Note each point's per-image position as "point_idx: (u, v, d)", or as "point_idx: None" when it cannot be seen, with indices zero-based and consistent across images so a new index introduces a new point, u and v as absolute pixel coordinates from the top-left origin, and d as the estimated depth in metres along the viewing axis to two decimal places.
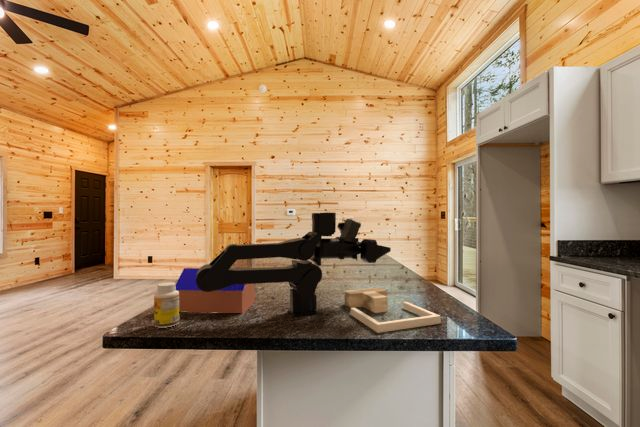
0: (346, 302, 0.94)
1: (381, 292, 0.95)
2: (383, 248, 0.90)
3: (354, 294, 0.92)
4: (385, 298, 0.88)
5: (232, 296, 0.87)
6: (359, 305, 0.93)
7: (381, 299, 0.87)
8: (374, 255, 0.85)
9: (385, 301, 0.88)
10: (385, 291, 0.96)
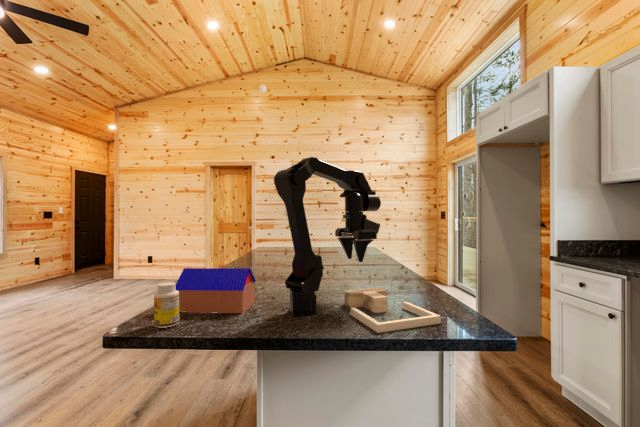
0: (346, 302, 0.94)
1: (381, 292, 0.95)
2: (363, 252, 0.98)
3: (354, 294, 0.92)
4: (385, 298, 0.88)
5: (232, 296, 0.87)
6: (359, 305, 0.93)
7: (381, 299, 0.87)
8: (365, 237, 0.93)
9: (385, 301, 0.88)
10: (385, 291, 0.96)
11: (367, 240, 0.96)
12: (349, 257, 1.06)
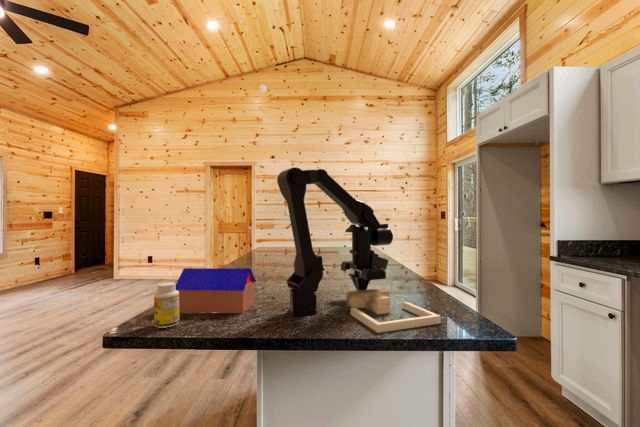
0: (348, 303, 0.93)
1: (383, 293, 0.94)
2: (365, 288, 0.97)
3: (356, 295, 0.91)
4: (388, 299, 0.86)
5: (233, 296, 0.87)
6: (361, 306, 0.91)
7: (384, 300, 0.86)
8: (374, 277, 0.89)
9: (388, 302, 0.86)
10: (387, 292, 0.94)
11: None
12: None
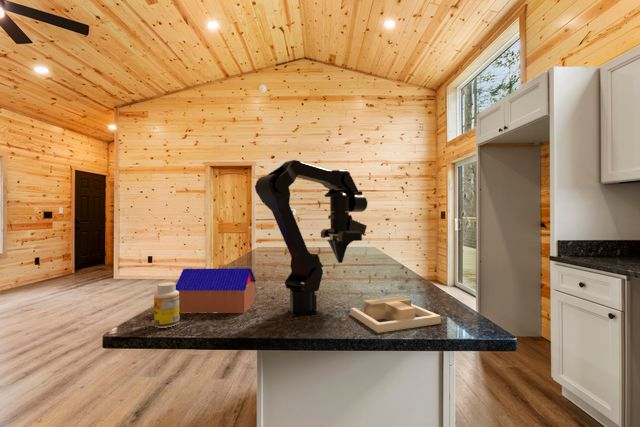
0: (366, 314, 0.83)
1: (405, 302, 0.84)
2: (342, 253, 0.97)
3: (376, 305, 0.81)
4: (412, 310, 0.76)
5: (234, 296, 0.87)
6: (381, 317, 0.81)
7: (408, 311, 0.76)
8: (349, 239, 0.89)
9: (412, 314, 0.76)
10: (410, 301, 0.84)
11: (346, 241, 0.95)
12: None
